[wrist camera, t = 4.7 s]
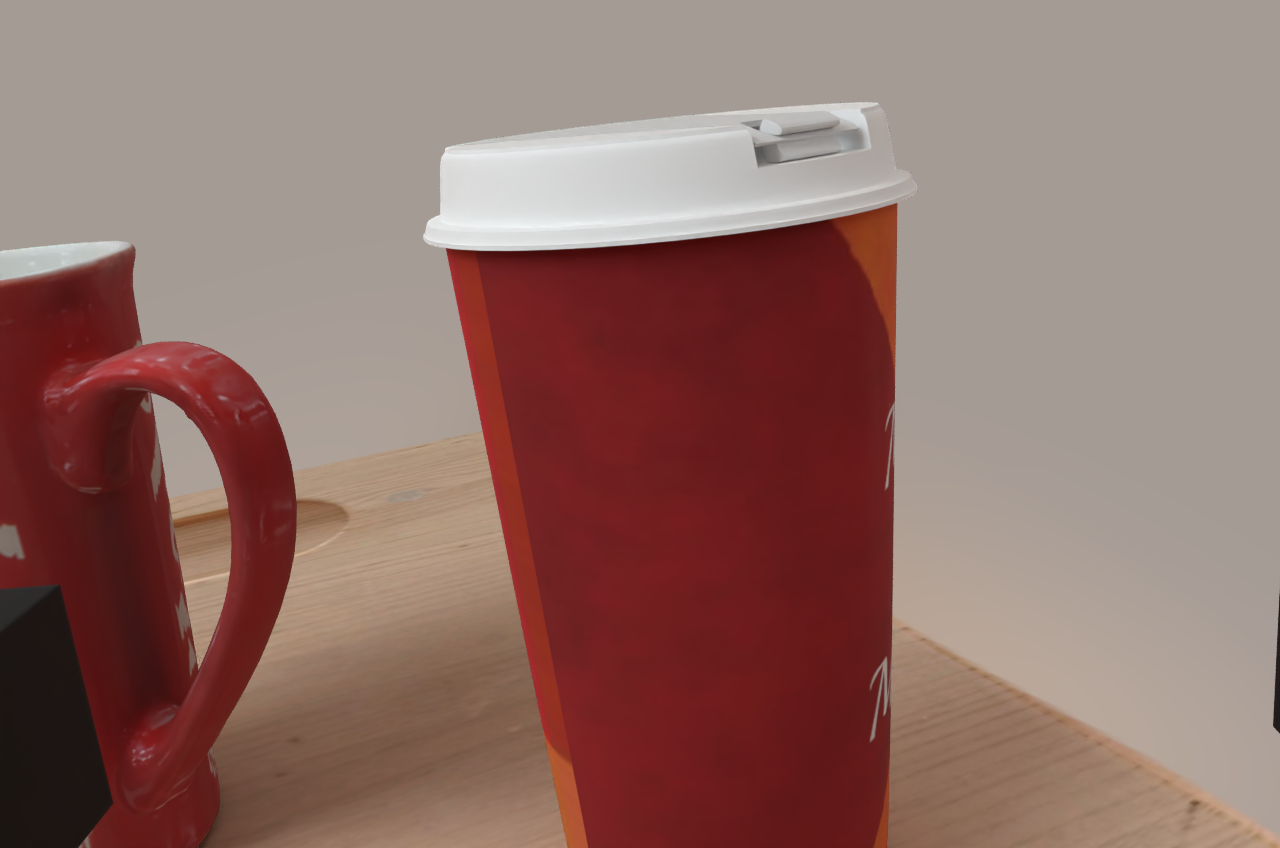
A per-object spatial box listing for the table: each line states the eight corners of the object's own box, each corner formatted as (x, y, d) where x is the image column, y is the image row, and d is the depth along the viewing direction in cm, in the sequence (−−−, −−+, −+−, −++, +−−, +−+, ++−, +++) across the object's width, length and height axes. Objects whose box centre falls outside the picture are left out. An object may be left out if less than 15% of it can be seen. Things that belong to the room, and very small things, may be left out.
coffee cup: (1036, 893, 23) (1023, 86, 19) (712, 1141, 19) (605, 144, 15) (741, 738, 30) (686, 110, 26) (447, 892, 25) (323, 155, 21)
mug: (-271, 945, 26) (-494, 327, 22) (64, 729, 34) (-60, 248, 30) (190, 1074, 21) (2, 309, 17) (454, 786, 29) (363, 221, 25)
